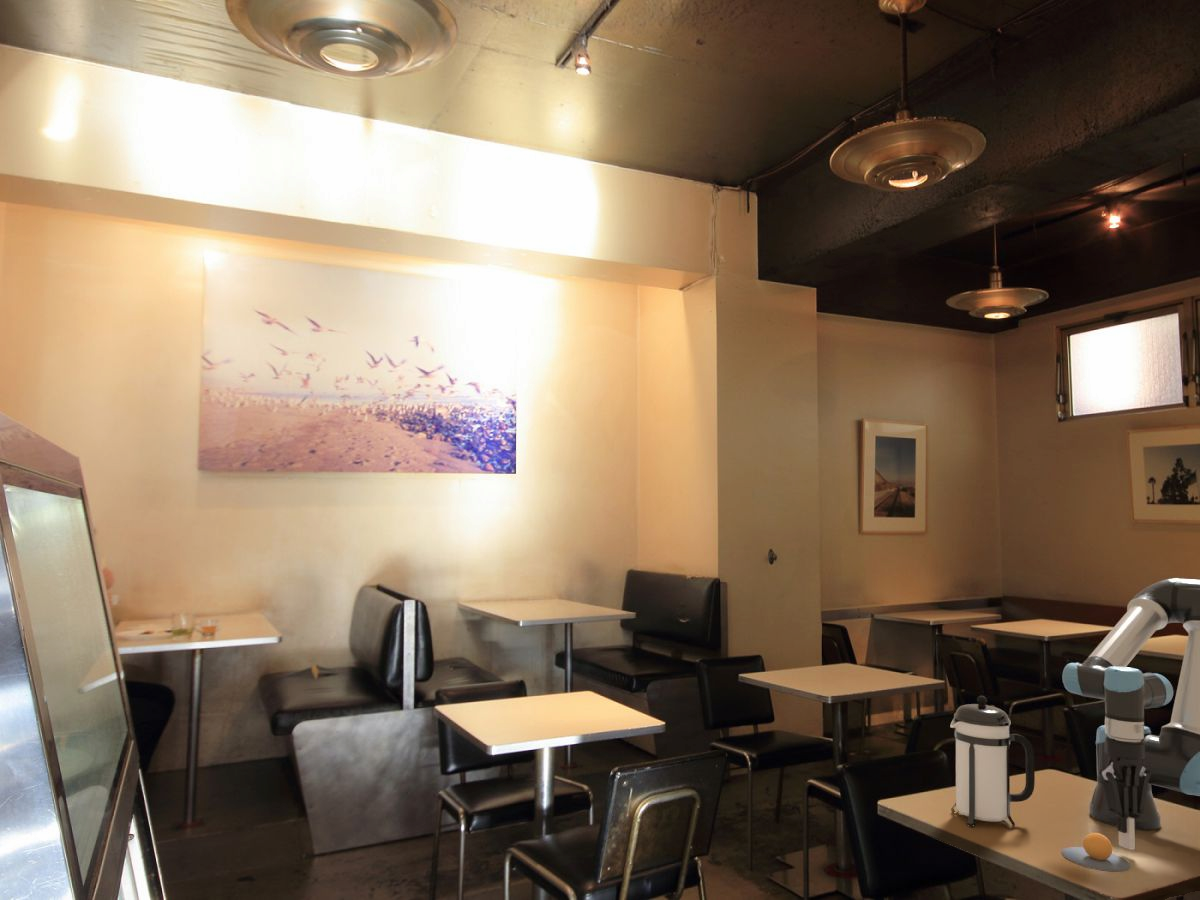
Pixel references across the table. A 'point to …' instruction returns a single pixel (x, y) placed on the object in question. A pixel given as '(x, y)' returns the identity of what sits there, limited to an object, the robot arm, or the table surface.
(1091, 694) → the robot arm
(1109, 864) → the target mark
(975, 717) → the coffee press
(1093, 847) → the ball
